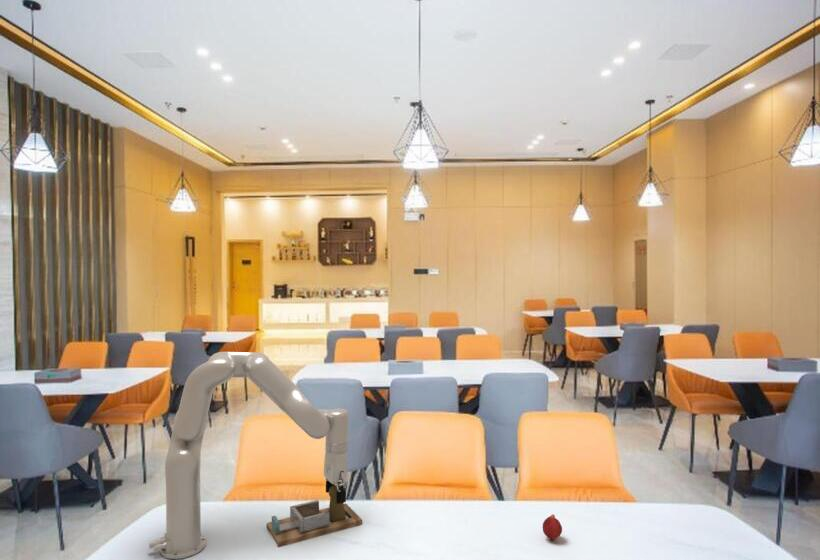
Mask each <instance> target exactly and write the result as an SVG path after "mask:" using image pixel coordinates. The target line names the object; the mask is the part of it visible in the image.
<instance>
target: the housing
mask: <svg viewBox="0 0 820 560" xmlns="http://www.w3.org/2000/svg"><path fill="white" fill-rule="evenodd" d="M289 507H290V508H289V509H290V510H289V512H290V513H289V515H290V519H291V520H292V521H291V522H287V523H283V524H280V522H279V520H280V519H278V517H277V516H276V515H271V522H272V529H273V531H274V532H275V534H280V532H284V531H288V530H292V529H296V528H297V529H298V530H299V531H300V533H302V532H306V531H310V530H313V529H317V528H321V527H325V526H329V512H324V513H320V514H317V513H319V510H320V501H319V500H318V499H317V500H316V499H315V500H313V501H308V502H304V503H299V504H295V505H291V506H289ZM313 514H316V515H313ZM309 515H312V516H309ZM305 516H308V517H305ZM303 517H304V518H303Z"/></svg>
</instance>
